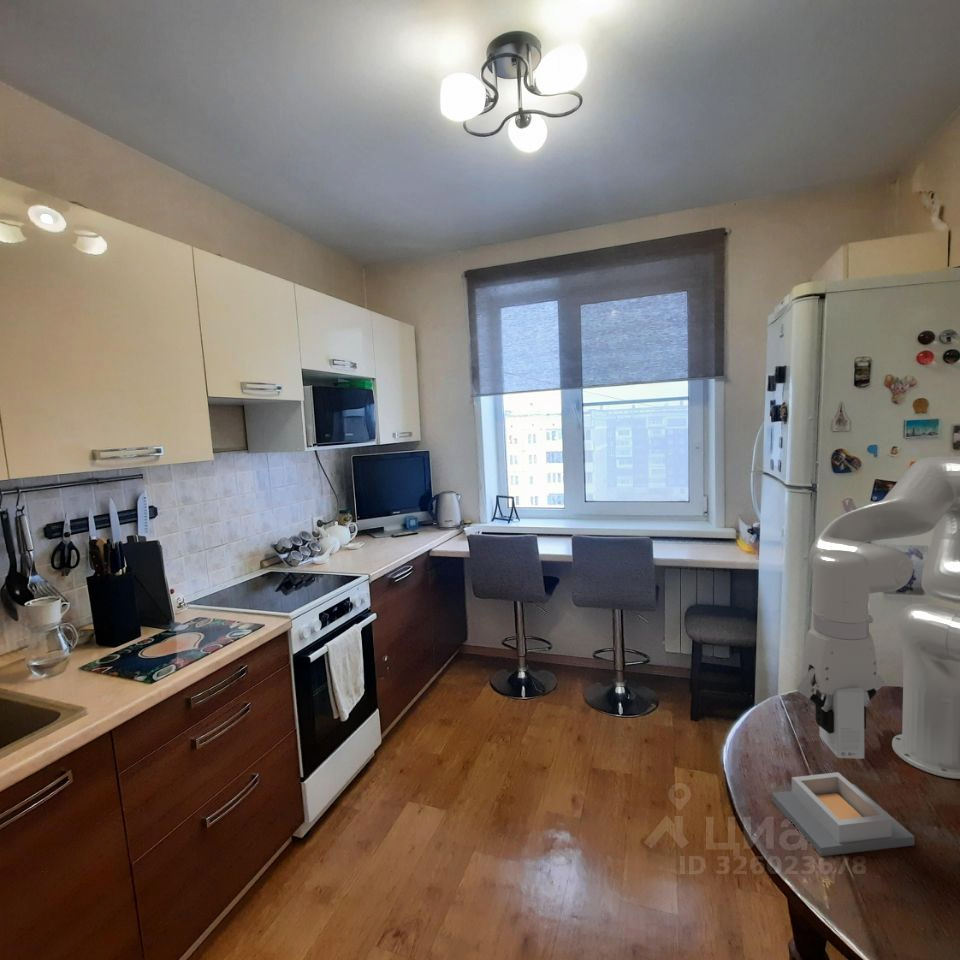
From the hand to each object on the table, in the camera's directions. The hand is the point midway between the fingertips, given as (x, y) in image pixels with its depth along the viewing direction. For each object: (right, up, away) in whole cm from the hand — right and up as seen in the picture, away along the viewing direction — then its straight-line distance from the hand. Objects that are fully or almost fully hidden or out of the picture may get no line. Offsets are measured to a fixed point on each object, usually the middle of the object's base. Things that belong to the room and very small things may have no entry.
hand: (840, 725), depth 83 cm
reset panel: (+1, -18, +2) cm, 18 cm away
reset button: (+1, -17, +2) cm, 17 cm away
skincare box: (0, -4, 0) cm, 4 cm away
